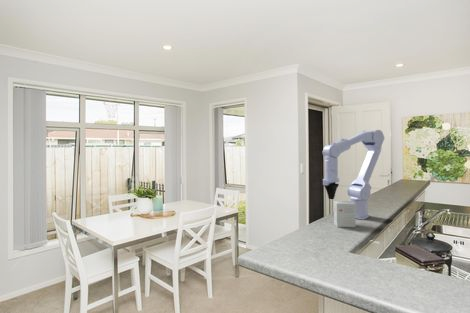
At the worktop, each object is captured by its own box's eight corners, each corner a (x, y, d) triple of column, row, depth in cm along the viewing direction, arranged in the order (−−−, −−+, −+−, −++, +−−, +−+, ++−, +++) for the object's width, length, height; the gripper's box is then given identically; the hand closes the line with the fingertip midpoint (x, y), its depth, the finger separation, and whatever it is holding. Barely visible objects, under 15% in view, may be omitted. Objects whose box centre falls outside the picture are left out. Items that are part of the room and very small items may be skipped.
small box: (351, 224, 130) (351, 201, 130) (355, 227, 125) (355, 203, 124) (333, 223, 131) (333, 200, 131) (336, 227, 126) (336, 203, 125)
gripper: (329, 168, 144) (329, 195, 145) (316, 171, 133) (316, 200, 134) (343, 169, 139) (343, 197, 140) (331, 171, 128) (331, 201, 129)
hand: (331, 198), depth 136 cm, fingers closed
